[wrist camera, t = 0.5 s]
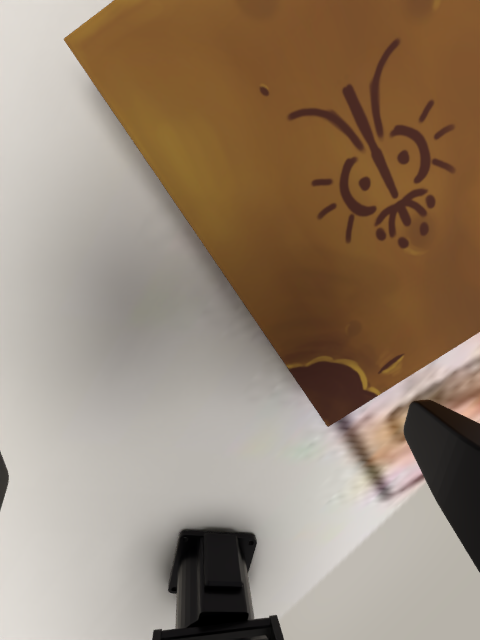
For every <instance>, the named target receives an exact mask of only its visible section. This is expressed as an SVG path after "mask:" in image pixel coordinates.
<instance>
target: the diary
mask: <svg viewBox="0 0 480 640" xmlns="http://www.w3.org/2000/svg"><path fill="white" fill-rule="evenodd" d="M64 41H65V42H66V44H67V45H68V47H69V48H70V49H71V51H72V52H73V54H74V55H75V57H76V58H77V60H78V61H79V63H80V64H81V66H82V67H83V69H84V70H85V71H86V73H87V74H88V76H89V77H90V79H91V80H92V82H93V83H94V85H95V86H96V88H97V89H98V91H99V92H100V93H101V95H102V96H103V98H104V99H105V101H106V102H107V104H108V105H109V107H110V108H111V110H112V111H113V113H114V114H115V115H116V117H117V118H118V120H119V121H120V123H121V124H122V126H123V127H124V129H125V130H126V132H127V133H128V135H129V136H130V137H131V139H132V140H133V142H134V143H135V145H136V146H137V148H138V149H139V151H140V152H141V154H142V155H143V157H144V158H145V159H146V161H147V162H148V164H149V165H150V167H151V168H152V170H153V171H154V173H155V174H156V176H157V177H158V179H159V180H160V181H161V183H162V184H163V186H164V187H165V189H166V190H167V192H168V193H169V195H170V196H171V198H172V199H173V201H174V202H175V203H176V205H177V206H178V208H179V209H180V211H181V212H182V214H183V215H184V217H185V218H186V220H187V221H188V223H189V224H190V225H191V227H192V228H193V230H194V231H195V233H196V234H197V236H198V237H199V239H200V240H201V242H202V243H203V245H204V246H205V247H206V249H207V250H208V252H209V253H210V255H211V256H212V258H213V259H214V261H215V262H216V264H217V265H218V267H219V268H220V269H221V271H222V272H223V274H224V275H225V277H226V278H227V280H228V281H229V283H230V284H231V286H232V287H233V289H234V290H235V291H236V293H237V294H238V296H239V297H240V299H241V300H242V302H243V303H244V305H245V306H246V308H247V309H248V311H249V312H250V314H251V315H252V316H253V318H254V319H255V321H256V322H257V324H258V325H259V327H260V328H261V330H262V331H263V333H264V334H265V336H266V337H267V338H268V340H269V341H270V343H271V344H272V346H273V347H274V349H275V350H276V352H277V353H278V355H279V356H280V358H281V359H282V360H283V362H284V363H285V365H286V366H287V368H288V369H289V371H290V372H291V374H292V375H293V377H294V378H295V380H296V381H297V382H298V384H299V385H300V387H301V388H302V390H303V391H304V393H305V394H306V396H307V397H308V399H309V400H310V402H311V403H312V404H313V406H314V407H315V409H316V410H317V412H318V413H319V415H320V416H321V418H322V419H323V421H324V422H325V424H326V425H327V426H328V427H329V426H330V425H332V424H333V423H335V422H337V421H338V420H340V419H341V418H343V417H345V416H346V415H348V414H349V413H351V412H353V411H354V410H356V409H357V408H359V407H361V406H362V405H364V404H365V403H367V402H369V401H370V400H372V399H373V398H375V397H377V396H378V395H380V394H381V393H383V392H385V391H386V390H388V389H389V388H391V387H393V386H394V385H396V384H397V383H399V382H401V381H402V380H404V379H405V378H407V377H408V376H410V375H412V374H413V373H415V372H416V371H418V370H420V369H421V368H423V367H424V366H426V365H428V364H429V363H431V362H432V361H434V360H436V359H437V358H439V357H440V356H442V355H444V354H445V353H447V352H448V351H450V350H452V349H453V348H455V347H456V346H458V345H460V344H461V343H463V342H464V341H466V340H468V339H469V338H471V337H472V336H474V335H476V334H477V333H479V332H480V0H114V1H113V2H111V3H110V4H109V5H108V6H106V7H105V8H104V9H102V10H101V11H100V12H98V13H97V14H96V15H94V16H93V17H92V18H90V19H89V20H88V21H87V22H85V23H84V24H83V25H81V26H80V27H79V28H77V29H76V30H75V31H73V32H72V33H71V34H69V35H68V36H67V37H65V38H64Z"/></svg>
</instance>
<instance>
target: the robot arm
mask: <svg viewBox="0 0 480 640" xmlns="http://www.w3.org/2000/svg"><path fill="white" fill-rule="evenodd" d="M404 435H405V438H406V441H407V443H408V445H409V447H410V449H411V451H412V453H413V455H414V457H415V459H416V461H417V463H418V465H419V467H420V469H421V471H422V474H423V476H424V478H425V480H426V482H427V484H428V486H429V488H430V490H431V492H432V494H433V495H434V497H435V499H436V501H437V503H438V505H439V506H440V508H441V510H442V511H443V513H444V515H445V516H446V518H447V520H448V521H449V523H450V525H451V526H452V528H453V530H454V531H455V533H456V534H457V536H458V538H459V539H460V541H461V543H462V544H463V546H464V548H465V549H466V551H467V552H468V554H469V556H470V557H471V559H472V561H473V562H474V564H475V566H476V567H477V569H478V571H479V572H480V424H479V423H477V422H475V421H473V420H471V419H469V418H467V417H465V416H463V415H461V414H459V413H456V412H454V411H452V410H450V409H448V408H446V407H444V406H442V405H440V404H438V403H436V402H434V401H431V400H419V401H414V402H412V403H411V404H410V406H409V410H408V413H407V417H406V421H405V425H404ZM8 481H9V475H8V470H7V468H6V465H5V462H4V460H3V457H2V455H1V452H0V510H1V506H2V503H3V500H4V496H5V493H6V489H7V486H8ZM184 537H186V538H184ZM256 544H257V540H256V537H255V535H252V534H238V533H220V532H203V531H182V532H181V533H180V534H179V538H178V543H177V547H176V552H175V557H174V561H173V566H172V571H171V576H170V580H169V587H168V591H169V592H170V593H173V594H177V605H176V629H171V630H163V631H162V629H158V630H154V632H153V639H152V640H284V638H283V634H282V631H281V628H280V624H279V621H278V617H277V615H273V616H269V618H261V619H254V613H253V606H252V600H251V593H250V586H249V579H248V571H249V568H250V564H251V561H252V558H253V554H254V551H255V547H256Z"/></svg>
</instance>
